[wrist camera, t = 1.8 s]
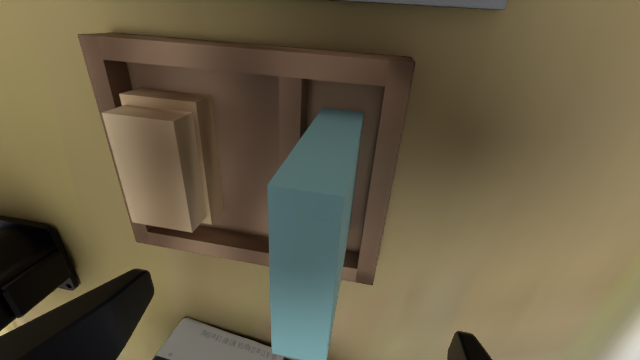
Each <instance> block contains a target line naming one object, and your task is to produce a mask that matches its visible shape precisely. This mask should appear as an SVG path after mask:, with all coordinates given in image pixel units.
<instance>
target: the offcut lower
mask: <svg viewBox="0 0 640 360" xmlns="http://www.w3.org/2000/svg"><path fill="white" fill-rule="evenodd" d="M119 96H120V100H121V104H122V106H123V105H134V106H142V107H151V108H159V109H168V110H177V111H185V112H192V115H193V122H194V129H195V136H196V143H197V151H198V158H199V165H200V172H201V179H202V186H203V194H204V201H205V208H206V215H207V217H206V218H205V219H204V220H203V221H202V222H201V223H205V224H211V225H212V224H213V223H214V221H215V220H216V219H217V218H218V217H219V215H220V214H221V213H222V212H223V211H224V208H223V198H222V189H221V180H220V170H219V161H218V152H217V142H216V133H215V123H214V114H213V105H212V95H203V94H194V93H185V92H175V91H166V90H157V89H147V88H138V89H134V90H131V91H127V92H124V93H120V94H119Z"/></svg>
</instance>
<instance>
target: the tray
mask: <svg viewBox="0 0 640 360" xmlns="http://www.w3.org/2000/svg"><path fill="white" fill-rule="evenodd" d="M78 38H79V41H80V45H81V48H82V52H83V55H84V59H85V63H86V66H87V70H88V73H89V77H90V80H91V84H92V87H93V91H94V94H95V98H96V101H97V105H98V109H99V112H100V116H101V119H102V123H103V126H104V130H105V133H106V137H107V140H108V144H109V147H110V151H111V154H112V158H113V162H114V165H115V169H116V172H117V176H118V179H119V183H120V186H121V190H122V193H123V197H124V200H125V204H126V208H127V211H128V215H129V218H130V222H131V225H132V229H133V232H134V236H135V239H136V242H139V243H145V244H150V245H155V246H161V247H166V248H172V249H177V250H183V251H188V252H194V253H199V254H205V255H210V256H215V257H221V258H226V259H232V260H237V261H243V262H248V263H254V264H259V265H264V266H269V229H268V190H267V185H268V183H269V182H270V181H271V179H272V178H273V176H274V175H275V174H276V172H277V171H278V169H279V168H280V167H281V165H282V164H283V162H284V161H285V160H286V158H287V157H288V155H289V154H290V153H291V151H292V150H293V148H294V147H295V146H296V144H297V143H298V141H299V140H300V139H301V137H302V136H303V134H304V133H305V132H306V130H307V129H308V127H309V126H310V125H311V123H312V122H313V120H314V119H315V118H316V116H317V115H318V113H319V112H320V110H321V109H322V108H323V107H325V108H334V109H343V110H353V111H362V112H364V118H363V126H362V134H361V142H360V150H359V158H358V165H357V173H356V181H355V189H354V197H353V205H352V213H351V221H350V228H349V235H348V241H347V246H346V252H345V258H344V264H343V269H342V275H341V280H346V281H352V282H357V283H363V284H368V285H373V281H374V276H375V271H376V266H377V260H378V255H379V250H380V245H381V239H382V234H383V229H384V224H385V218H386V213H387V208H388V203H389V198H390V192H391V187H392V182H393V177H394V171H395V166H396V161H397V156H398V150H399V145H400V140H401V135H402V130H403V124H404V119H405V114H406V109H407V103H408V98H409V93H410V88H411V82H412V77H413V72H414V67H415V61H414V60H413V58H412V57H405V56H393V55H380V54H368V53H356V52H343V51H331V50H319V49H306V48H294V47H282V46H269V45H257V44H245V43H233V42H220V41H208V40H196V39H183V38H171V37H159V36H146V35H134V34H122V33H96V34H78ZM138 88H147V89H157V90H166V91H175V92H185V93H194V94H203V95H212V105H213V114H214V123H215V133H216V142H217V152H218V161H219V170H220V180H221V189H222V198H223V208H224V211H223V212H222V213H221V214H220V215H219V217H218V218H217V219H216V220H215V221H214V223H213V224H212V225H211V224H205V223H201V224H200V225H199V226H198V227H197V228H196V229H195V230H194V231H193V232H192V233H191V232H186V231H180V230H174V229H168V228H163V227H157V226H151V225H145V224H140V223H134V222H132V220H131V216H130V213H129V209H128V205H127V202H126V198H125V195H124V191H123V188H122V184H121V180H120V177H119V173H118V170H117V166H116V163H115V159H114V155H113V152H112V148H111V145H110V141H109V138H108V134H107V130H106V127H105V123H104V120H103V116H102V112H105V111H108V110H111V109H114V108H117V107H120V106H122V104H121V100H120V96H119V94H120V93H124V92H127V91H131V90H134V89H138Z"/></svg>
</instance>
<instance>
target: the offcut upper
mask: <svg viewBox="0 0 640 360" xmlns="http://www.w3.org/2000/svg"><path fill="white" fill-rule="evenodd" d="M102 116H103V120H104V123H105V127H106V130H107V134H108V138H109V141H110V145H111V148H112V152H113V155H114V159H115V163H116V166H117V170H118V173H119V177H120V180H121V184H122V188H123V191H124V195H125V198H126V202H127V205H128V209H129V213H130V216H131V220H132V222H134V223H140V224H145V225H151V226H157V227H163V228H168V229H174V230H180V231H186V232H191V233H192V232H193V231H194V230H195V229H196V228H197V227H198V226H199V225H200V224H201V222H202V221H203V220H204V219H205V218H206V217H207V215H206V208H205V201H204V194H203V186H202V179H201V172H200V165H199V158H198V151H197V143H196V136H195V129H194V122H193V115H192V112H185V111H177V110H168V109H159V108H151V107H142V106H134V105H123V106H120V107H117V108H114V109H111V110H108V111H105V112H102Z"/></svg>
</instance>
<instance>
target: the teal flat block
mask: <svg viewBox="0 0 640 360" xmlns="http://www.w3.org/2000/svg"><path fill="white" fill-rule="evenodd" d="M363 118H364V112H362V111H353V110H343V109H334V108H325V107H323V108H322V109H321V110H320V112H319V113H318V115H317V116H316V118H315V119H314V120H313V122H312V123H311V125H310V126H309V127H308V129H307V130H306V132H305V133H304V134H303V136H302V137H301V139H300V140H299V141H298V143H297V144H296V146H295V147H294V148H293V150H292V151H291V153H290V154H289V155H288V157H287V158H286V160H285V161H284V162H283V164H282V165H281V167H280V168H279V169H278V171H277V172H276V174H275V175H274V176H273V178H272V179H271V181H270V182H269V183H268V185H267V190H268V229H269V267H270V306H271V344H272V353H273V354H278V355H282V356H287V357H291V358H296V359H300V360H327V356H328V350H329V344H330V339H331V333H332V327H333V321H334V316H335V310H336V304H337V298H338V292H339V287H340V281H341V275H342V269H343V264H344V258H345V252H346V246H347V241H348V235H349V228H350V221H351V213H352V205H353V197H354V189H355V181H356V173H357V165H358V158H359V150H360V142H361V134H362V126H363Z"/></svg>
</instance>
